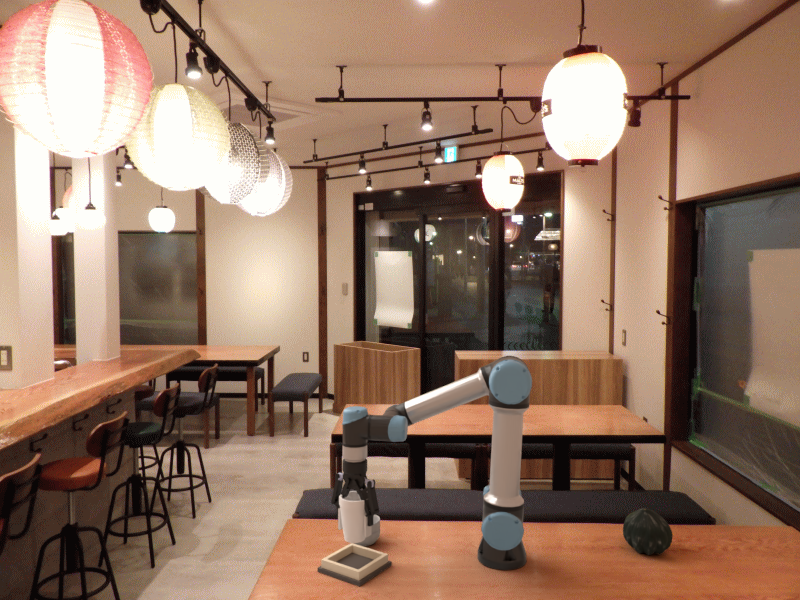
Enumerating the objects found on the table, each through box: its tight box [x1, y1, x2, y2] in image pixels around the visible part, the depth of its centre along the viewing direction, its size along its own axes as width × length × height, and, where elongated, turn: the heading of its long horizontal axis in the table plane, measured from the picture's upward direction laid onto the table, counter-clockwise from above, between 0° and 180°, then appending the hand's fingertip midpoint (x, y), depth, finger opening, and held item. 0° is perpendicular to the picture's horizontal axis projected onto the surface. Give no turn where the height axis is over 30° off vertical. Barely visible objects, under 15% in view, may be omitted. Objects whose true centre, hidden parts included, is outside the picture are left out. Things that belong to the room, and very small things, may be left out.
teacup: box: [354, 514, 381, 547], centre depth 209 cm, size 14×11×8 cm
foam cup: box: [339, 490, 366, 544], centre depth 188 cm, size 10×9×13 cm
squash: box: [622, 507, 674, 556], centre depth 202 cm, size 14×15×15 cm
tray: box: [317, 543, 393, 587], centre depth 189 cm, size 16×16×4 cm
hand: (354, 532), depth 189 cm, fingers closed on foam cup, 9 cm apart
